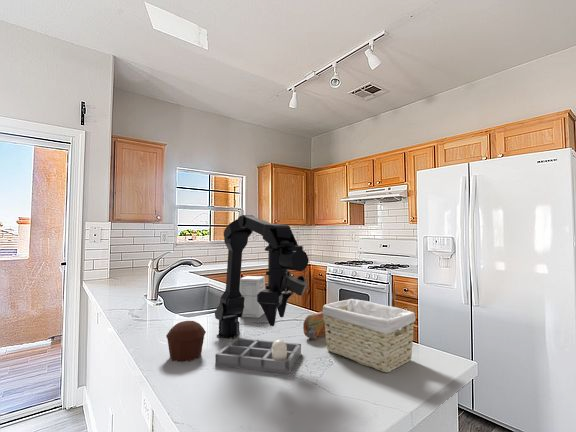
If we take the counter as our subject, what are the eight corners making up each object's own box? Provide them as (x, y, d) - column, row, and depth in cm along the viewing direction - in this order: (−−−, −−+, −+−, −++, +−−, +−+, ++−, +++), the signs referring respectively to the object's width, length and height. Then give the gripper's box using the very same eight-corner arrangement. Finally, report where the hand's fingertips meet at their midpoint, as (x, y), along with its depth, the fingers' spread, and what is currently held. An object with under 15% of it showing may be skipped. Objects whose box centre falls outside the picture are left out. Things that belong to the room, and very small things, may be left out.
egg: (269, 364, 88) (269, 341, 88) (274, 358, 92) (274, 336, 92) (284, 365, 87) (284, 343, 87) (288, 359, 91) (288, 338, 91)
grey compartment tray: (215, 365, 90) (215, 354, 90) (236, 347, 104) (236, 337, 105) (288, 374, 85) (288, 362, 85) (300, 353, 99) (300, 343, 99)
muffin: (188, 366, 90) (189, 330, 90) (157, 360, 93) (157, 325, 94) (212, 351, 101) (213, 319, 101) (183, 346, 104) (184, 315, 105)
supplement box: (265, 313, 148) (265, 276, 149) (259, 318, 139) (259, 279, 140) (246, 311, 150) (246, 275, 151) (238, 316, 141) (239, 278, 142)
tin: (308, 342, 109) (308, 317, 110) (301, 339, 112) (301, 315, 112) (336, 333, 120) (336, 310, 120) (329, 331, 122) (329, 308, 122)
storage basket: (418, 361, 94) (417, 310, 94) (388, 378, 83) (387, 320, 84) (352, 340, 112) (352, 297, 112) (320, 351, 101) (320, 304, 102)
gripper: (297, 273, 83) (296, 334, 82) (311, 265, 101) (310, 315, 100) (256, 271, 86) (255, 330, 85) (277, 263, 104) (276, 312, 103)
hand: (277, 321), depth 93 cm, fingers open, 9 cm apart
